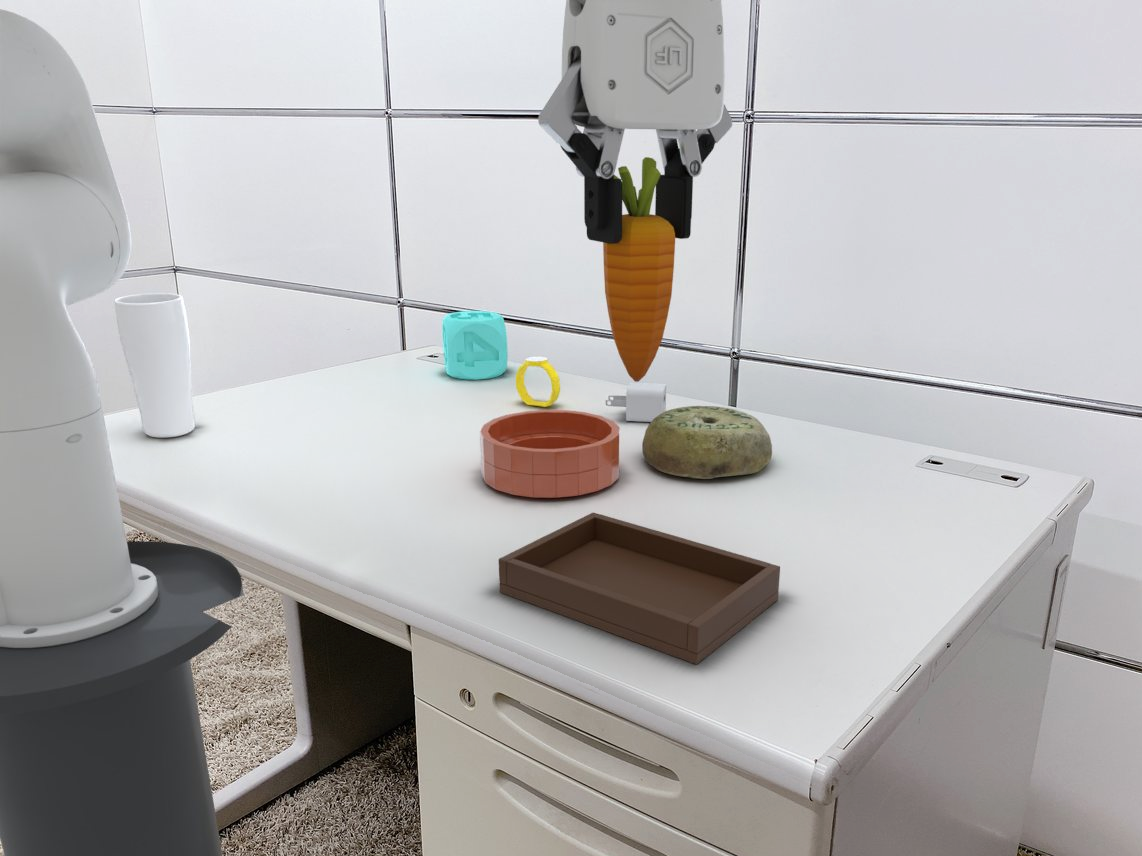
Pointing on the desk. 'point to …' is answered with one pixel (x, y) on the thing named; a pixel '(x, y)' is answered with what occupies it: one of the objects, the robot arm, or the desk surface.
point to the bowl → (550, 453)
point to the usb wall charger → (642, 401)
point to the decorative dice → (474, 345)
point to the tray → (642, 584)
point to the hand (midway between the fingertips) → (639, 236)
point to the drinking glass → (158, 360)
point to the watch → (551, 373)
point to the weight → (706, 442)
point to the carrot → (639, 274)
